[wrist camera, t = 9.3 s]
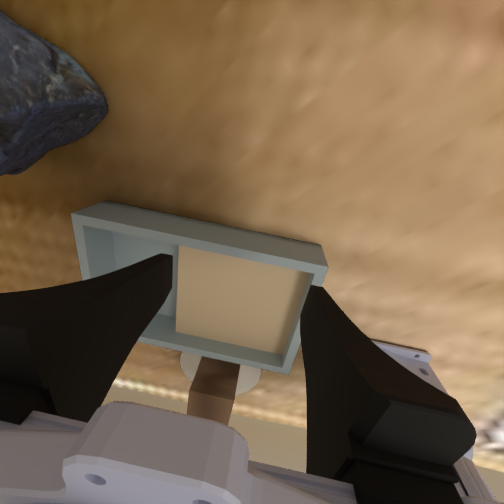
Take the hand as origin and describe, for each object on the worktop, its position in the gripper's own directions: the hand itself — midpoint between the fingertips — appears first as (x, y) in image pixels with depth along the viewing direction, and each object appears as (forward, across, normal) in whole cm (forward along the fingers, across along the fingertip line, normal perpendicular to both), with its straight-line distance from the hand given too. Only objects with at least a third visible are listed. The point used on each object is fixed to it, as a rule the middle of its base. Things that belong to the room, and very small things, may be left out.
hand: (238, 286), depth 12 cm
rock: (+10, +20, -7) cm, 23 cm away
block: (+9, +1, +19) cm, 21 cm away
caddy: (+10, +4, +7) cm, 13 cm away
